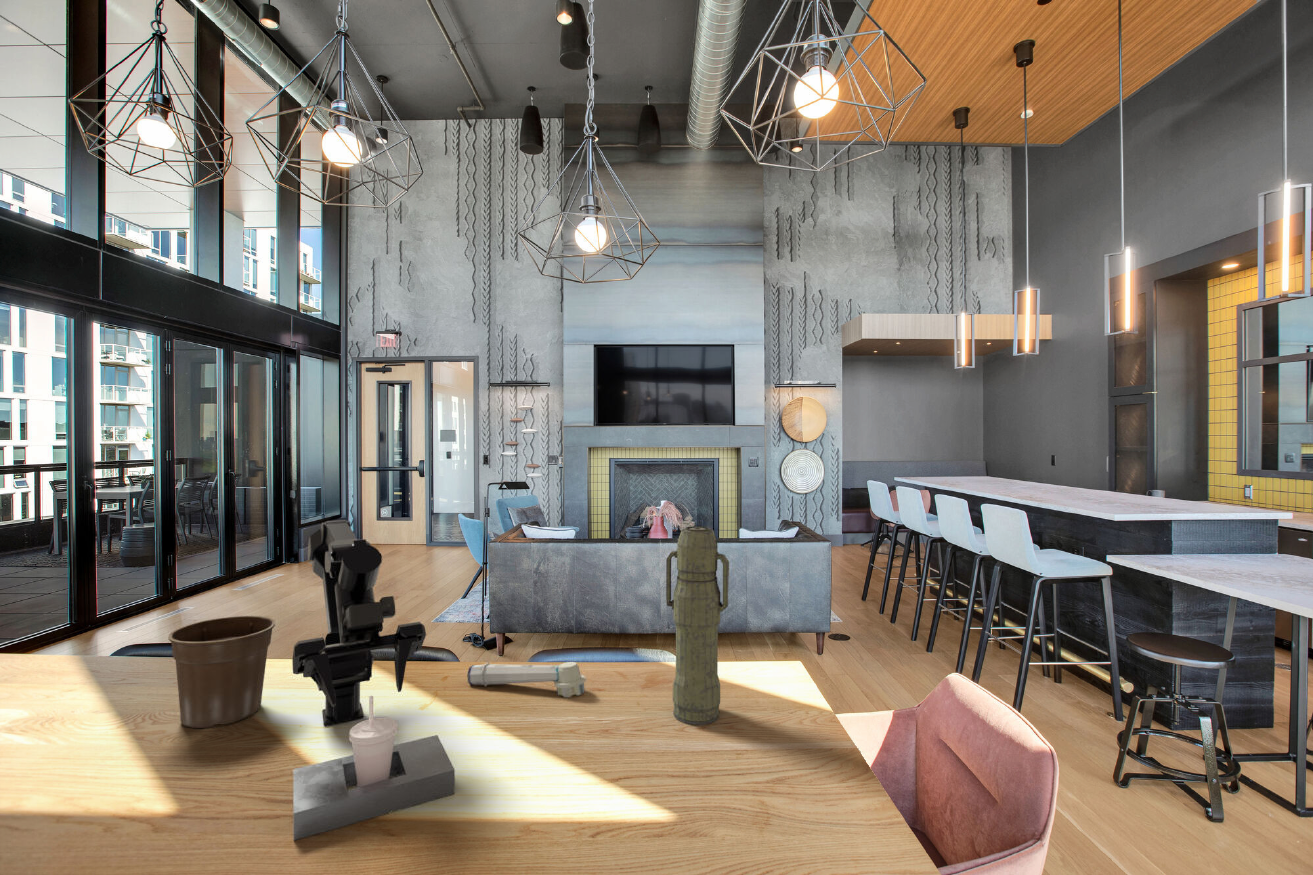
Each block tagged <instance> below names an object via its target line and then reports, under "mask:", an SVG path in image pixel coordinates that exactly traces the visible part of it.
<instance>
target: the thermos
mask: <svg viewBox="0 0 1313 875" xmlns="http://www.w3.org/2000/svg"><path fill="white" fill-rule="evenodd" d="M676 545H677V546H676V550H672V551H671V552H669V554H668V556H667V558H666V559H665V561H666V562H665V564H666V565H665V566H666V570H665V571H666V573H665V578H666V579H665V580H666V581H665V596H666V597H665V599H666V606H667V607H671V610H673V622H674V624H675V678H674V679H673V683H672V702H673V712H672V713H673V714H672V715H673V717H674V718H675V719H676V720H677V721H679V722H680V723H683V724H685V725H686V724H687V725H693V726H703V725H704V726H705V725H710V724H713V723H715V722H716V721H718V720H719V718H720V704H721V682H720V678H719V675H718V670H719V669H718V666H719V665H718V657H719V656H718V654H719V653H718V651H719V650H718V648H719V647H718V645H719V644H718V642H719V640H718V639H719V637H718V636H719V634H718V633H719V628H718V627H719V625H720V623H721V613H722V612H723V611H725V610H726V609H727V608H728V606H729V582H730V581H729V580H730V578H729V577H730V561H729V559H728V558H727V556H726V554H723V553H719V552H718V542H717V538H716V535H715V531H714V530H713V529H711V528H710V527H707V526H695V525H693V526H685V528H683V529H681V530H680V534H679V537H678V540H677V543H676ZM673 557H674V558H675V559H676V569H677V576H676V585H675V587H674V591H673V599H672V558H673ZM718 560H720V562H721V563H722V601H721V591H720V588H719V584H718V576H717V571H718Z"/></svg>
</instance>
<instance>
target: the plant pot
mask: <svg viewBox="0 0 1313 875" xmlns="http://www.w3.org/2000/svg"><path fill="white" fill-rule="evenodd" d="M275 626H276V621H275V619H274V618H272V617H267V616H262V615H237V616H236V615H235V616H226V617H219V618H212V619H205V620H202V621H201V620H200V621H197V622H194V623H190V624H187V625H185V626H182V627H178V628H176V629H175V630H173V631H171V632H170V633H169V634H168V635H167V638H168V641H169V642H170V643H171V648H172V649H171V650H172V657H173V658H172V659H174V660H175V669H176V680H177V690H178V691H177V692H178V701H179V702H178V704H179V705H178V706H179V713H180V714H179V716H180V717H179V718H180V723H181V724H182V725H183V726H185V727H189V728H193V729H206V728H207V729H208V728H212V727H214V726H215V725H219V724H222V725H224V726H227V725H230V724H233V723H236V722H239V721H242V720H244V719H246V718H247V719H248V718H249V717H251V716H252V715H254V714H256V713H257V712H258V711H259V709H260V708H261V705H262V700H263V699H262V697H263V692H264V691H263V689H264V682H265V674H266V665H267V658H268V656H267V655H268V648H269V646H270V645H271V642H272V641H271V640H272V635H273V634H272V633H273V629H274V628H275Z"/></svg>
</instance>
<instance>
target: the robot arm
mask: <svg viewBox="0 0 1313 875" xmlns="http://www.w3.org/2000/svg"><path fill="white" fill-rule="evenodd" d="M351 527H352V526H351V522H350V521H349V520H346V519H343V520H342V519H341V520H327V521H325V522H321V525H320V528H319V529H318V530H316V531H315V532H313V533H311V535H310V536H309V537H308V543H307V561H308V562H311V567H312V572H313V573H314V574H315V575H316V576H318V577H319V578H321V580H322V584H323V596H324V597H323V598H324V603H325V604H324V605H325V614H326V623H327V632H328V633H327V634H326V635H325V638H324V637H315V638H309V639H303V640H298V641H297V642H296V643H295V644H294V646H293V653H292V659H291V660H292V675H293V674H294V675H301V674H302V676H303V678H311V679H312V680H313V682H314V683H315V684H316V686H317V689H318V692H321V691H322V692H323V695H324V696H325V708H324V709H322V710H321V713H322V722H323V723H322V724H323V726H329V725H333V724H339V723H342V722H343V723H344V722H347V721H353V720H356V719H357V720H358V719H362V718H364V717H365V713H364V711H363V707H362V702H361V683H364V682H370V680H371V678H372V677H373V674H372V673H373V664H374V660H375V655H374V654H373V653H372V651H375V650H380V649H386V648H392V647H393V648H394V652H395V655H394V658H393V659H394V672H395V674H394V675H395V685H396V690H397V692H398V693H400V692H402V690H403V684H404V680H405V673H406V668H407V667H406V666H407V661H408V659H410V658H412V657H414V655H415V653H417V652H419V651H420V650H421V649H422V648H423V645H424V642H425V639H426V636H427V632H426V627H425V625H424V624H423V623H422V622H421V621H416V622H409V623H404V624H398V625H397V629H396V631H395V633H393V634H391V633H390V634H386V635H381V634H380V633H381V632H382V631H383V629H384V626H383V623H384V619H391V618H393V617H395V615H396V603H395V598H394V595H390V596H383V597H381V598H380V599H379V601H376V600H375V594H374V587H375V585H376V583H377V580H378V575H379V572H380V568H381V564H383V556H382V553H381V552H380V551H379V549H377V548H376V547H374V545H371V543H370V542H369V541H367V539H364V538H363V539H358V538H357V537H356V535H355V532H354V531H353V530H352V528H351Z"/></svg>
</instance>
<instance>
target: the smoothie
mask: <svg viewBox="0 0 1313 875" xmlns="http://www.w3.org/2000/svg"><path fill="white" fill-rule="evenodd" d="M398 731H399V729H398V721H397V720H395V719H393V718H391V717H383V716H382V717H374V695H369V696H368V719H365V720H363V721H360V722H358V723H356V724H355V725H353V726H352V727H351V728H350V729H349V737H348V739H349V742H350V743H351V745H352V753H353V754H352V755H354V762H355V769H356V777H357V787H361V786H365V785H369V784H373V783H376V782H380V781H384V780H388V779H390V776H389V774H390V767H391V760H392V752H393V745H395V736H396V734H397V733H398Z"/></svg>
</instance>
